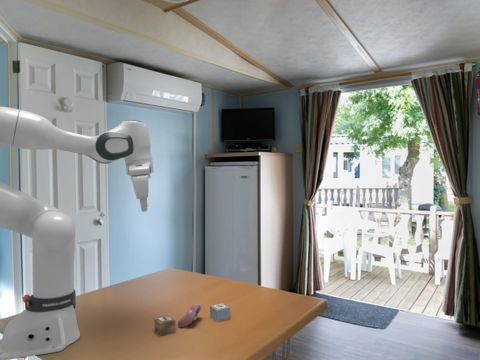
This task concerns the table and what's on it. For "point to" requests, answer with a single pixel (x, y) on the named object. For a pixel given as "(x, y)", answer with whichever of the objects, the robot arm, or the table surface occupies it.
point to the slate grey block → (220, 312)
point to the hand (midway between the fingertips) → (144, 209)
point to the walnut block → (165, 325)
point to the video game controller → (190, 315)
